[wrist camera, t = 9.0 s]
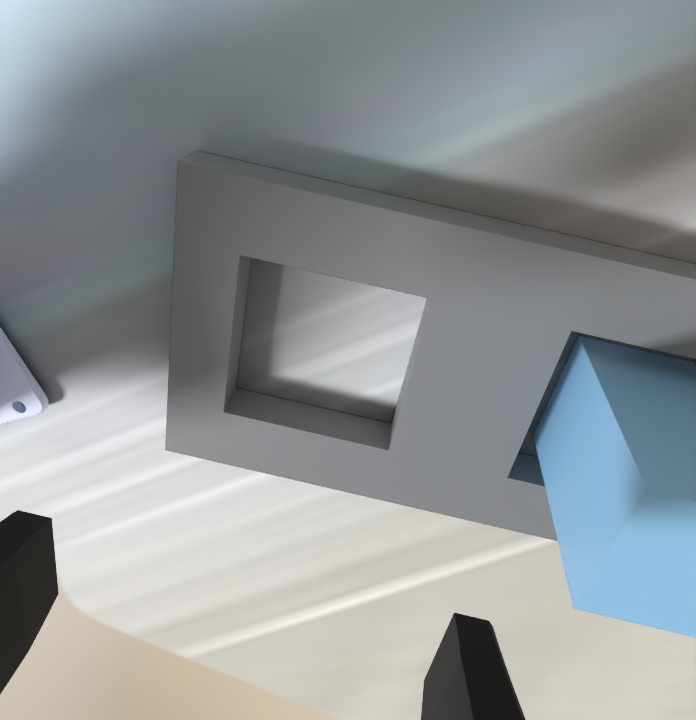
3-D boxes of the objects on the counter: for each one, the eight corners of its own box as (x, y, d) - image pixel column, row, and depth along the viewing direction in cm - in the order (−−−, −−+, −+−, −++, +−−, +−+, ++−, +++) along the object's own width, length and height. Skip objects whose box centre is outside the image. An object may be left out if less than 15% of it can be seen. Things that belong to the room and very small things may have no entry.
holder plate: (682, 541, 22) (698, 573, 21) (180, 424, 22) (165, 450, 21) (849, 298, 17) (883, 322, 16) (197, 151, 17) (178, 162, 16)
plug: (646, 462, 21) (733, 646, 15) (533, 435, 21) (573, 608, 15) (704, 365, 19) (833, 533, 13) (578, 335, 19) (647, 489, 13)
